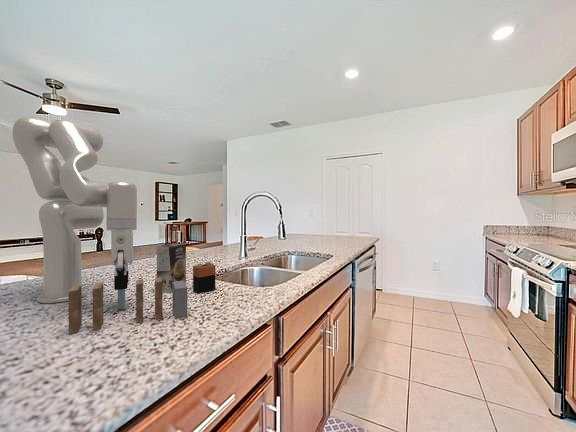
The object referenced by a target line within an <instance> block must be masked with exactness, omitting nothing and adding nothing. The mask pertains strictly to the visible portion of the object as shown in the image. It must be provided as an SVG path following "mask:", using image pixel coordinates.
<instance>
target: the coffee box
mask: <svg viewBox="0 0 576 432" xmlns="http://www.w3.org/2000/svg"><path fill="white" fill-rule="evenodd" d="M159 277H161V278H162V292H165V293H172V282H175V281H184V282H185V284H186V285H187V243H169V244H162V245H157V246H156V278H159Z"/></svg>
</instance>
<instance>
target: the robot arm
mask: <svg viewBox="0 0 576 432" xmlns="http://www.w3.org/2000/svg"><path fill="white" fill-rule="evenodd" d="M12 140H13V143H14V147H15V148H16V150H17V152H18V154H19V155H20V156H21V158H22V159H23V161H24V162H25V165H26V167H27V169H28V172H29V175H30V178H31V181H32V183H33V186H34V189H35V192H36V194H37V195H38V196H39V197H40V198H41V199H42V200H45V201H48V202H45V203H43V204H42V205H41V206H40V208H39V210H38V219H39V223H40V228H41V233H42V243H43V244H42V248H43V249H42V250H43V251H42V252H43V283H42V284H41V285H38V286H37V290H38V291H42V293H41V294H40V295H39V296H37V298H36V300H37V302H38V303H42V304H57V303H63V302H64V303H65V302H69V290H70V289H71V288H72V287H73V286H79V285H83V284H82V283H83V282H82V278H83V277H82V276H83V275H82V241H81V239H80V237H79V236H78V234H77V233H76V232H75V231H74V230H81V229H84V230H85V229H94V228H95V229H96V228H97V227H100V226H101V225H102V224H103V221H104V219H105V218H104V217H105V215H104V210H103V208H106V231H110V233H111V234H110V237H111V238H110V239H111V240H110V244H111V246H110V247H111V263H112V265H113V266H115V268H114V278H113V280H114V281H113V282H114V283H113V285H114V286H113V287H114V291H118V290H121V289H125V290H127V289H128V285H129V270H128V269H129V265H131V264H133V263H134V232H133V231H136V230H137V224H138V223H137V221H138V220H137V218H138V216H137V214H138V212H137V211H138V210H137V207H138V206H137V205H138V204H137V202H138V201H137V200H138V199H137V198H138V193H137V192H138V187H137V186H136V185H135V184H134V183H131V182H123V181H112V182H104V181H96V180H90V179H89V178H87V177H86V176H84V175H82V174H80V172H83V171H84V172H85V171H87V170H90V169H91V168H93V167H94V166H95V165H96V164H97V163H98V161H99V157H98V154H97V153H96V152H99V151H100V150H101V149H102V147H103V145H104V138H103V136H102V134H101V132H100V131H99V130H97V129H96V128H94V127H91V126H87V125H85V124H81V123H78V122H76V121H75V122H74V121H71V120H67V119H58V120H55V121H50V120H45V119H41V118H37V117H21V118H18V119H17V120H15V121H14V124H13V126H12ZM46 147H47V148H46ZM48 147H49V148H54V149H57V150H58V152H59V153H60V155H61V157H62V159H63V161H64V162H63V163H62V164H61V162H60V161H59V159H58V158H57V156H56V155H55V154H54V153H53V152H51V150H49V149H48ZM128 264H129V265H128ZM86 295H88V290H87V289H86V288H82V298H83V297H85V296H86Z"/></svg>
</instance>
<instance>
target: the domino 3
mask: <svg viewBox="0 0 576 432" xmlns="http://www.w3.org/2000/svg"><path fill="white" fill-rule="evenodd" d="M125 306H126V289H121V290H117V310H122V309H125Z"/></svg>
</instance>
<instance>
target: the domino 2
mask: <svg viewBox="0 0 576 432" xmlns="http://www.w3.org/2000/svg"><path fill="white" fill-rule="evenodd" d="M91 293H92V331H98V330H99V331H101V330H102V327H103V324H104V282H103V283H102V282H101V283H95V284H94V286H93V287H92V291H91Z"/></svg>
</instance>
